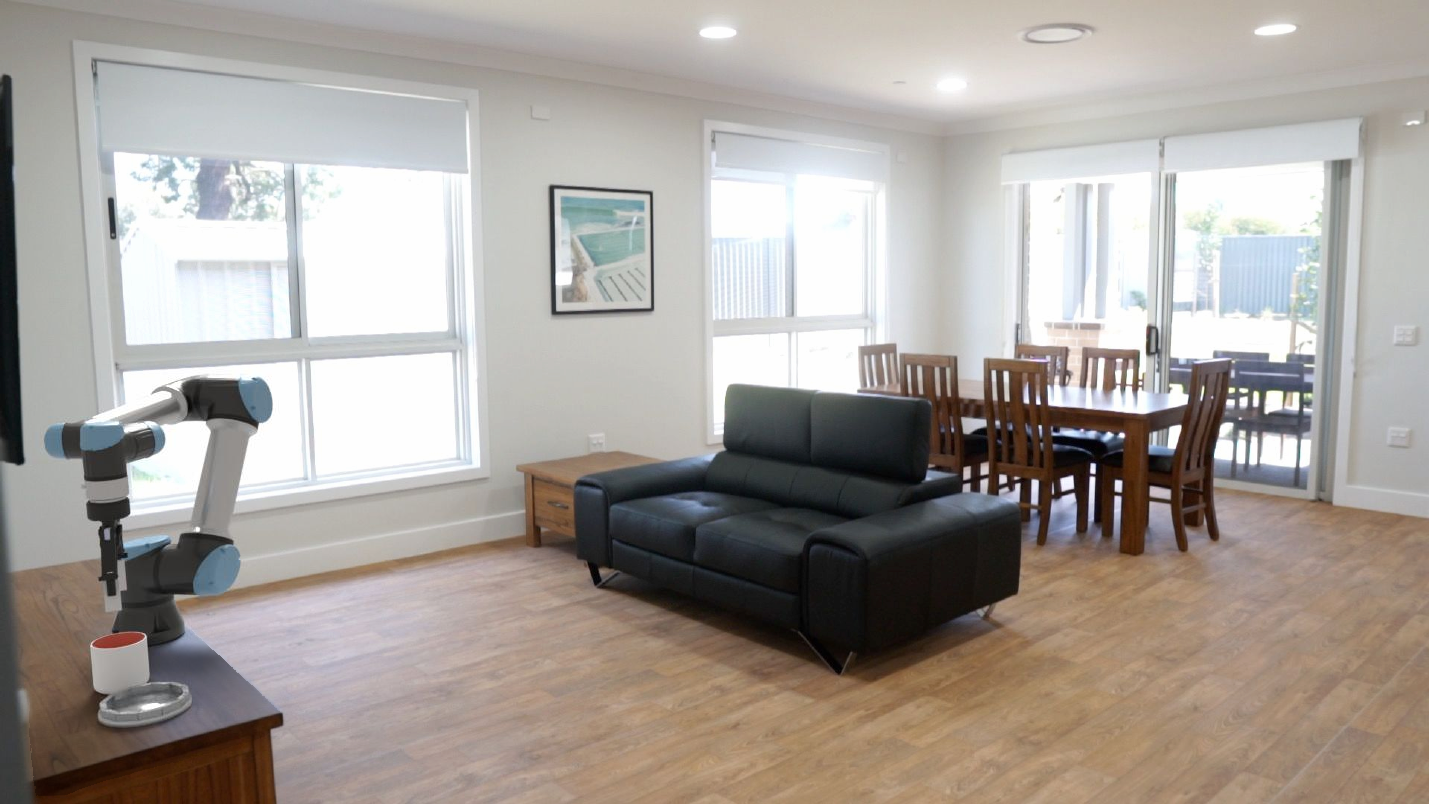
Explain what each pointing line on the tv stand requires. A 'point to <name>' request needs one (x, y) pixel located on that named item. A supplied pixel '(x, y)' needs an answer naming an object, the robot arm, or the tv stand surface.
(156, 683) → the faceted steel dish
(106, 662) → the cup
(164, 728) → the tv stand surface
